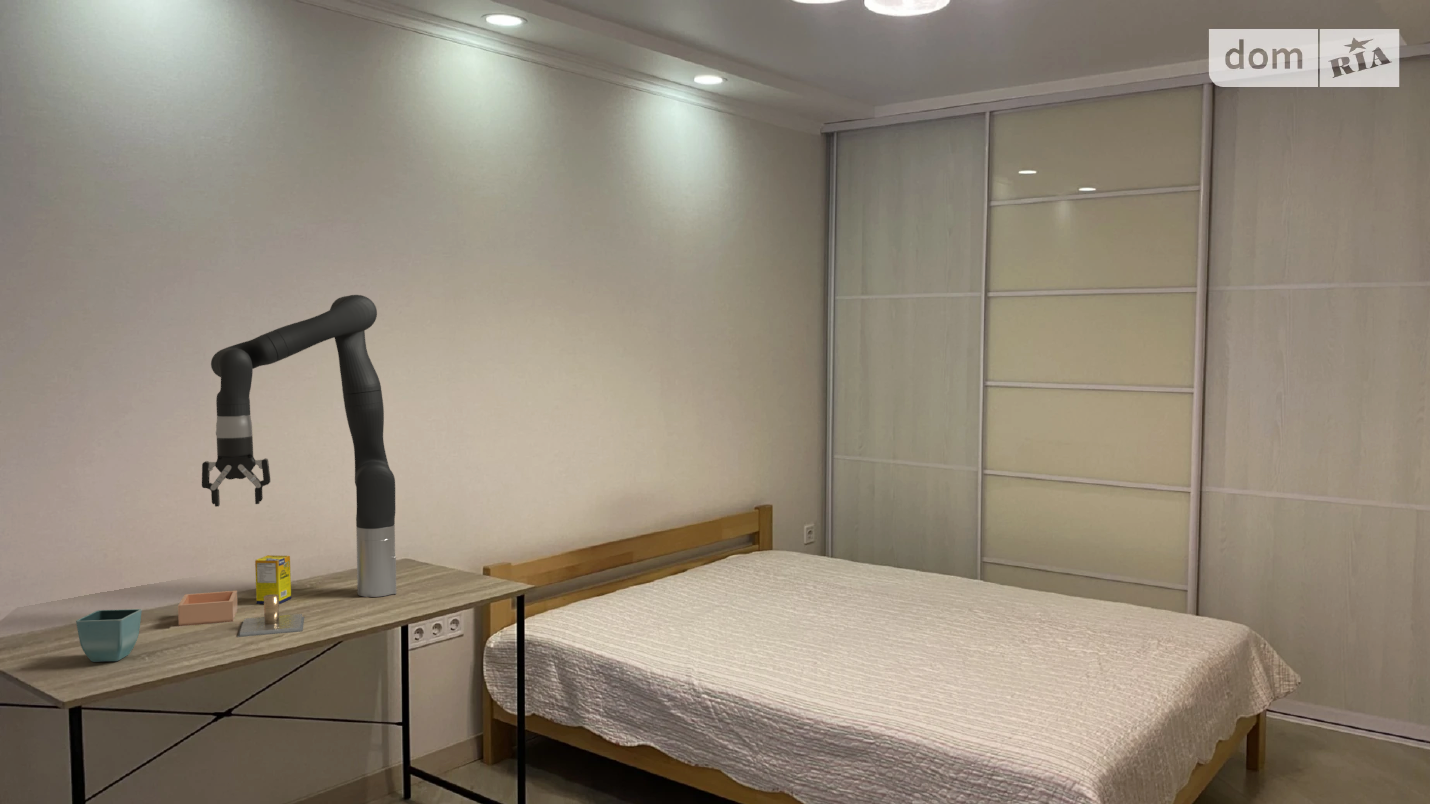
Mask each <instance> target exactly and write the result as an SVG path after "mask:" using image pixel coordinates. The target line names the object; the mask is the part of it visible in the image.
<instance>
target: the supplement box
mask: <svg viewBox="0 0 1430 804" xmlns="http://www.w3.org/2000/svg"><path fill="white" fill-rule="evenodd" d="M254 563H255V564H254V565H255V591H256V592H255V596H256V605H259V604H260V605H264V596H266V595H273V594H275V595H279V605H280V604H283V603H285V602H287V601H290V600H291V599H292V578H291V555H276V554H275V555H274V554H273V555H272V554H271V555H265V556H263V557H259V558H257V559H255V560H254Z"/></svg>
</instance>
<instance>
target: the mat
mask: <svg viewBox="0 0 1430 804" xmlns="http://www.w3.org/2000/svg"><path fill="white" fill-rule="evenodd" d="M243 622H244V621H242V622H241V624H240V627H239V631H238V634H237V638H242V637H255V636H266V635H268V636H269V635H276V634H277V635H278V634H288V633H290V634H291V633H299V632H300V633H301V632H303V631H304V623H305V616H302V621H301V628H300V631H292V632H281V633H270V634H258V635H247V636H240V630H241V628H242V625H243Z"/></svg>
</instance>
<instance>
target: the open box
mask: <svg viewBox="0 0 1430 804" xmlns="http://www.w3.org/2000/svg"><path fill="white" fill-rule="evenodd" d="M177 609H178V610H177V611H178V615H177V616H178V617H177V618H178V627H187V626H197V625H209V624H220V623H221V624H222V623H233V622H234V621H235V618H236V615H237V614H238V613H237V612H238V610H239V609H238V590H227V591H225V590H224V591H214V592H213V591H212V592H202V593H201V592H199V593H185V594H184V595H183V597H182V599H181V600H180V602H179V603H178V605H177Z"/></svg>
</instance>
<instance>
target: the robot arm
mask: <svg viewBox="0 0 1430 804" xmlns="http://www.w3.org/2000/svg"><path fill="white" fill-rule="evenodd" d="M377 316H378V310H377V306H376V304H375V303H374V302H373V300H372V299H370V298H369V297H367V296H366V295H365V296H364V295H361V294H351V295H346V296H345V295H344V296H341V297H339V298H336V299H335V300H334V301H333V302H332V304H331V306H330V309H328V311H325V312H323V313H320V314H318V315H316V316H313V317H310V318H308V319H304V320H300V321H298V322H294V323H290V324H287V325H284V326H282V327H277V328H276V329H273V330H271V331H268V332H266V333H264V334H261V335H259V336H257V337H254V338H252V339H250V340H247V341H243V342H240V343H236V344H234V345H231V346H228V347H224V348H222V349H220V350H218V351H217V352H215V354H214V355H213V356H212V358H211V362H210V366H211V367H210V368H211V370H212V371H213V373H214V375H216V376H218V377H219V378H220V390H219V392H218V393H217V394H216V402H215V403H216V404H215V405H216V424H215V428H216V430H215V435H216V451H217V452H216V453H217V455H216V456H217V458H216V461H208V460H206V461H203V462H202V464H201V465H202V466H201V487H202V488H203V489H208V490H210V493H211V494H210V495H211V503H212V505H214V507H219V506H221V505H220V503H221V501H220V500H221V499H220V489H219V487H220V485H221V484H222V483H223V481H224V480H225V479H227V480H235V479H237V480H238V479H239V480H244V479H245V478H246V479H247V480H248V481H249V482H250V483H252V484H253V486H255V488H254V502H255V503H254V504H255V505H259V504H260V503H261V502H262V501H263V499H264V498H263V497H264V496H263V487H265V486H268V485H269V484H270V483H271V473H270V463H269V459H268V458H262V459H255V457H254V443H253V441H254V440H253V422H252V418H251V417H252V416H251V400H250V394H251V393H250V392H251V389H252V381H253V372H254V371H253V370H254V369H255V368H258V367H262V366H268V365H271V364H276V363H278V362H280V361H282V360H285V359H286V358H289V357H291V356H293V355H296V354H299V353H300V352H303V351H304V350H307V349H309V348H311V347H313V346H316V345H319V344H321V343H323V342H325V341H328V340H331V339H334V341H335V346H336V350H337V355H338V363H339V372H340V380H341V387H342V389H341V390H342V397H343V404H344V411H345V416H346V420H347V424H348V428H349V429H348V430H349V432H350V436H351V440H352V443H353V444H352V445H353V453H354V483H355V484H354V485H355V489H356V490H355V491H356V492H355V493H356V515H355V516H356V517H355V525H356V527H355V528H356V531H355V532H356V571H357V572H356V574H357V575H356V578H357V579H356V580H357V583H356V586H357V595H358V596H360V597H367V598H375V597H377V598H378V597H385V596H391V595H395V594H397V559H396V558H397V556H396V534H395V533H396V531H395V530H396V528H395V518H396V478H395V475H394V472H393V471H392V470H391V469H390V466H389V462H388V458H387V453H386V448H385V444H384V442H385V441H384V426H385V425H384V423H385V421H384V420H385V416H384V415H385V414H384V413H385V411H384V400H383V398H384V397H383V392H382V391H383V390H382V386H381V382H380V378H379V376H378V374H377V372H376V369H375V366H374V364H373V363H372V361H371V359H370V356H369V354H368V350H367V342H366V332H365V331H366V330H369V328H371V327H372V326H373V325H374V323H375V322H376V320H377V318H378V317H377ZM256 465H257V466H258V468H259V469H260V470H262V478H263V479H262V480H260V479H259V478H258V476H257V475H256V474H255V473H254V472H253V469H254V468H255V466H256ZM214 467H215V468H216V469H217V470H218V471H219V472H220V474H219V475H218V476H217V478H216V479H215V480H214V482H213V483H212V482H210V474H211V473H210V472H212V471H213V470H214Z"/></svg>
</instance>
